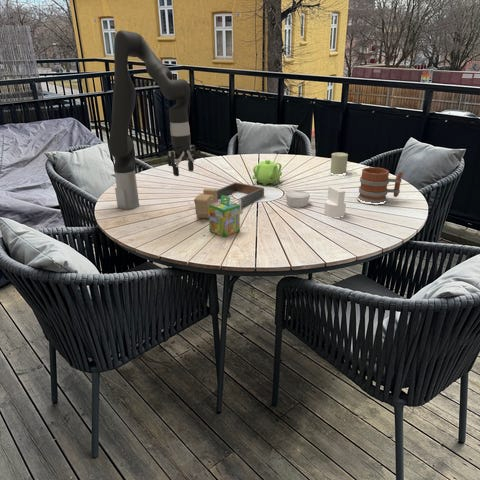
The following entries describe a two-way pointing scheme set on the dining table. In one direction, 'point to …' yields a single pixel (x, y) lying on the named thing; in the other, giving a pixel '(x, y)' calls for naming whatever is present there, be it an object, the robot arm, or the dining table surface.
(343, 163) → the can
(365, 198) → the mug
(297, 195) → the ramekin
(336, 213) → the white stepped block
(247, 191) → the bay
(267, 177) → the teapot
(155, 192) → the dining table surface
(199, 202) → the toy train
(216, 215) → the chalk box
